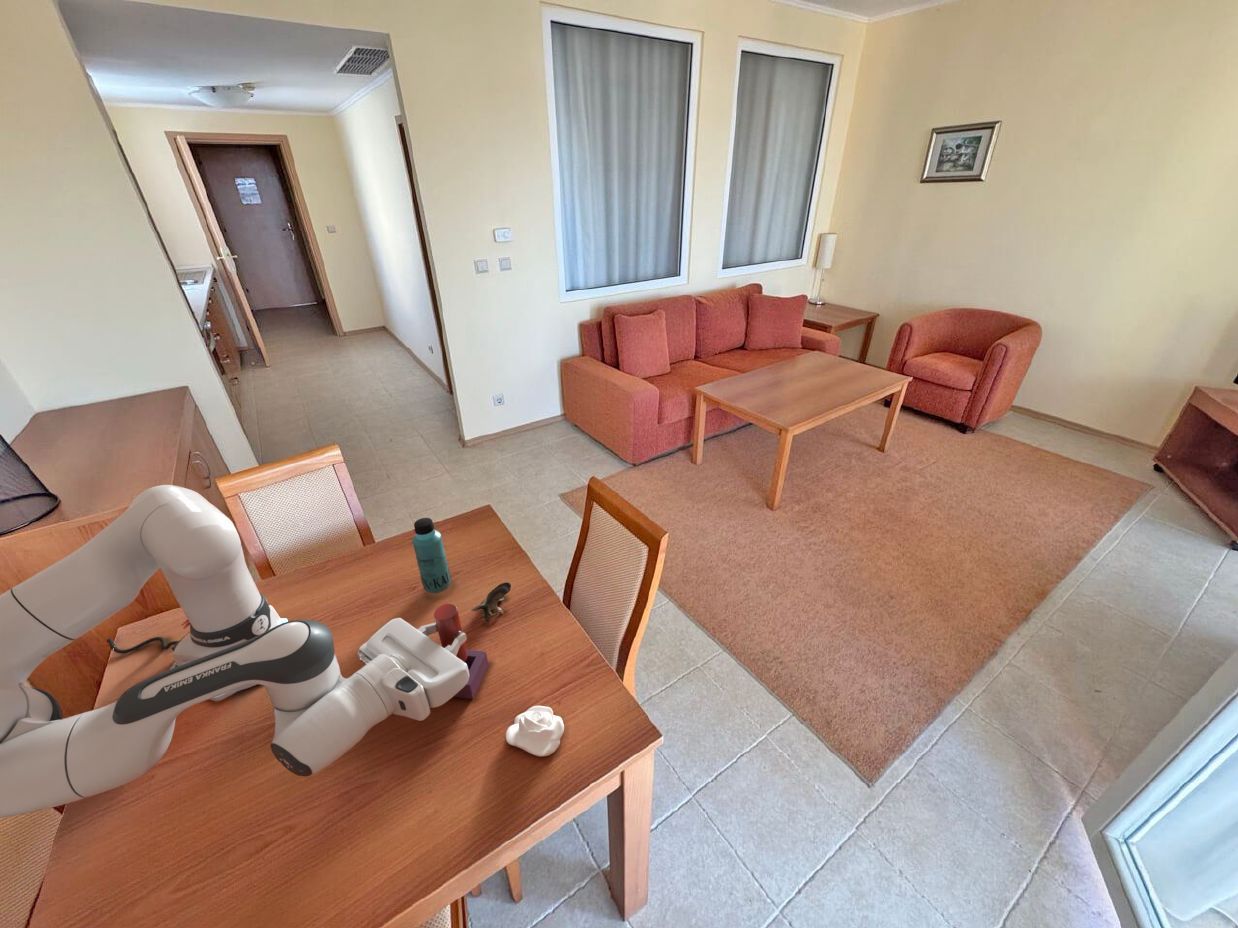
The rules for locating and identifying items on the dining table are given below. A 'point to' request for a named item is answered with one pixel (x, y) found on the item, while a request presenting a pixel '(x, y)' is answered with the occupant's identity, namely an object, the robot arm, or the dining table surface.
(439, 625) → the red peg
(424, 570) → the beverage bottle
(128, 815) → the dining table surface
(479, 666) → the peg board
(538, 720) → the rose
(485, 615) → the eagle figurine
